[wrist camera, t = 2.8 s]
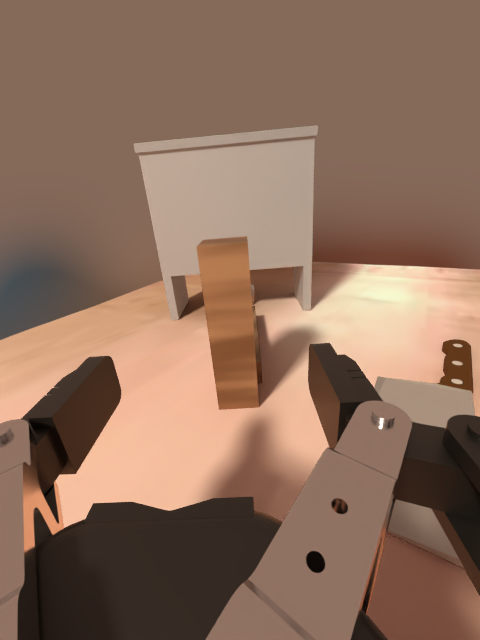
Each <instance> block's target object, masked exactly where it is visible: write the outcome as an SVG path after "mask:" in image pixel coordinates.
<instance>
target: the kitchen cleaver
mask: <svg viewBox="0 0 480 640" xmlns="http://www.w3.org/2000/svg"><path fill="white" fill-rule="evenodd" d="M442 351H443V352H444V353H445V354H446V356H445V359H444V368H443V372H444V374H445V376H443V377H442V378H441V380H440V383H437V384H434V383H426V382H417V381H409V380H401V379H392V378H384V377H378V378H377V381H376V385H375V388H374V389H375V390H376V391H377V393H378V394H379V396H380V397H381V398H382V400H383V401H384V402H387V403H390V404H393V405H395V406H397V407H399V408H400V409H402V410H403V411H404V412H405V413H406V414H407V415H408V416H409V417H410V419H411V421H412V422H416V423H420V424H425V425H431V426H437V427H443V428H446V425H447V422H448V420H449V419H450V418H451V417H453V416H455V415H473V416H475V411H474V402H473V377H472V358H471V346H470V345H469V343H467V342H466V341H463V340H456V339H455V340H449V341H445V342H443V348H442ZM388 533H390V534H392V535H394V536H396V537H398V538H400V539H403V540H405V541H407V542H409V543H411V544H413V545H415V546H417V547H419V548H422V549H424V550H426V551H428V552H430V553H432V554H434V555H436V556H438V557H441V558H443V559H445V560H447V561H449V562H451V563H453V564H455V565H457V566H460V567H462V568H464V566H463V565H462V563H461V561H460V559H459V557H458V556H457V554H456V552H455V550H454V548H453V547H452V545H451V543H450V541H449V539H448V538H447V536H446V534H445V532H444V530H443V529H442V527H441V525H440V523H439V521H438V520H437V518H436V516H435V514H434V512H433V511H432V509H431V508H427V507H423V506H419V505H415V504H412V503H408V502H404V501H400V500H396V503H395V506H394V510H393V514H392V518H391V522H390V525H389V529H388ZM464 569H465V568H464Z"/></svg>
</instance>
